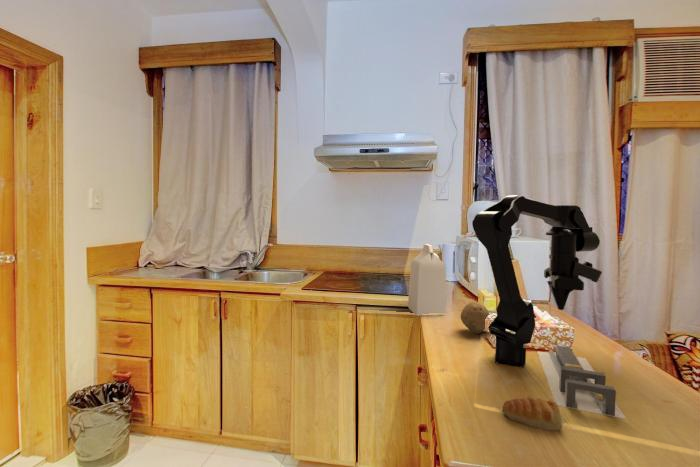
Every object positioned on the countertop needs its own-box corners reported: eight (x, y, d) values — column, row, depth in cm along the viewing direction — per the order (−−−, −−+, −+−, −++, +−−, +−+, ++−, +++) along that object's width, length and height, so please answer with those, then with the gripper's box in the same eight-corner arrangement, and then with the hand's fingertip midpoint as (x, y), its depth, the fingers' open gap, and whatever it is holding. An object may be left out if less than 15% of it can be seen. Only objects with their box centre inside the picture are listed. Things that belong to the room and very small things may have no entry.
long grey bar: (569, 386, 72) (570, 372, 72) (555, 356, 88) (556, 345, 88) (586, 389, 71) (587, 375, 71) (569, 358, 87) (569, 347, 87)
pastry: (506, 425, 60) (506, 404, 60) (499, 405, 66) (499, 386, 66) (565, 434, 58) (566, 412, 57) (552, 412, 64) (553, 393, 64)
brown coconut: (453, 330, 109) (454, 299, 109) (473, 326, 114) (474, 297, 113) (475, 339, 101) (476, 306, 101) (495, 335, 105) (496, 303, 105)
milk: (407, 307, 137) (409, 243, 136) (435, 306, 138) (436, 243, 137) (416, 315, 125) (418, 246, 124) (446, 315, 126) (448, 246, 125)
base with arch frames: (556, 408, 65) (557, 381, 65) (537, 353, 91) (538, 333, 91) (626, 422, 61) (628, 393, 61) (585, 360, 87) (586, 340, 87)
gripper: (611, 257, 79) (607, 323, 80) (589, 250, 96) (586, 304, 97) (556, 255, 83) (553, 317, 84) (544, 248, 100) (542, 300, 101)
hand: (560, 309), depth 91 cm, fingers closed
